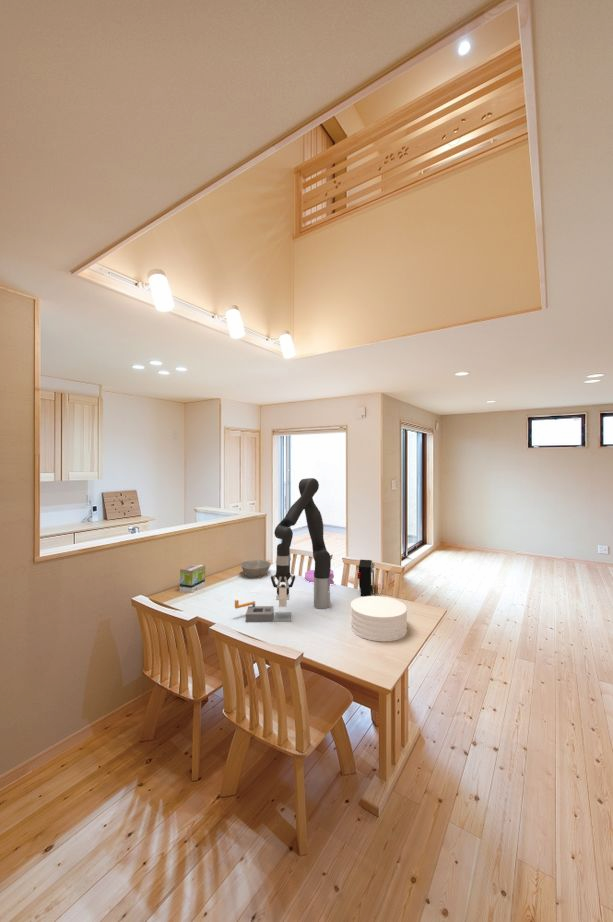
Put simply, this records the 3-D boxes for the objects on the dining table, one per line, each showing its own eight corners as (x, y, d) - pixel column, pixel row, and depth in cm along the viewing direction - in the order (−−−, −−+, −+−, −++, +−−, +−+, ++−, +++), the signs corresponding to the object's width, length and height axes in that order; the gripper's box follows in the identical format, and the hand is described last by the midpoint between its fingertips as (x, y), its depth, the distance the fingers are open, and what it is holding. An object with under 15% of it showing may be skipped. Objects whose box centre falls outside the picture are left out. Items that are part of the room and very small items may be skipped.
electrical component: (374, 600, 226) (374, 567, 226) (357, 598, 228) (357, 566, 228) (374, 590, 243) (374, 560, 243) (359, 589, 245) (359, 559, 245)
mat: (291, 613, 206) (291, 612, 206) (291, 621, 195) (291, 620, 195) (275, 613, 206) (275, 612, 206) (274, 621, 195) (274, 620, 195)
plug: (289, 602, 204) (289, 582, 204) (289, 607, 197) (289, 587, 197) (276, 602, 204) (276, 582, 204) (275, 607, 197) (276, 587, 197)
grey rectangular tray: (273, 613, 206) (273, 605, 206) (272, 621, 195) (272, 613, 195) (248, 613, 205) (248, 605, 205) (245, 621, 194) (245, 613, 194)
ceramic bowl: (259, 571, 287) (259, 558, 287) (276, 578, 269) (276, 564, 269) (234, 576, 272) (234, 563, 272) (250, 584, 255) (250, 570, 255)
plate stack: (368, 612, 207) (368, 592, 207) (415, 626, 190) (415, 604, 190) (339, 630, 186) (340, 607, 186) (391, 647, 168) (391, 622, 168)
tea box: (192, 593, 237) (192, 570, 237) (179, 591, 240) (179, 569, 240) (205, 586, 251) (205, 564, 251) (193, 584, 254) (193, 563, 255)
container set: (300, 581, 262) (300, 562, 262) (317, 577, 272) (317, 559, 272) (323, 591, 242) (323, 571, 243) (340, 586, 252) (340, 567, 252)
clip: (255, 606, 205) (255, 596, 205) (235, 611, 198) (236, 601, 198) (254, 605, 207) (254, 595, 207) (234, 610, 199) (234, 600, 199)
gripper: (296, 561, 205) (296, 592, 204) (270, 561, 204) (270, 592, 204) (296, 565, 197) (295, 597, 197) (269, 565, 197) (269, 597, 197)
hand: (282, 594), depth 201 cm, fingers closed on plug, 4 cm apart
